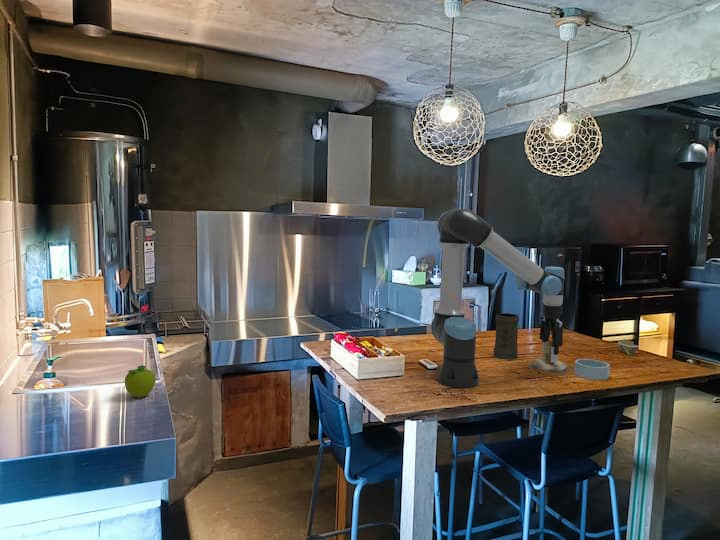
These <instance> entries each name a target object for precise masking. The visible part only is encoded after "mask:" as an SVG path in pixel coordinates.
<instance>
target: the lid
mask: <svg viewBox="0 0 720 540" xmlns="http://www.w3.org/2000/svg"><path fill="white" fill-rule="evenodd" d="M551 345H553V342H552V340H550V341H546V351H545V358H537V359H533V360H532V362H531V364H532V366H533V367H534V368H536V369H539V370H538V371H542V370H544V371H543V372H547V371H550V372H549V373H553V372H562V371H566V370H567V366H568V364H567V363H565V362H563V361H561V360H558V362H551ZM536 369H535V370H536ZM567 371H568V370H567ZM567 371H566V372H567Z"/></svg>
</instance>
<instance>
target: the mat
mask: <svg viewBox="0 0 720 540" xmlns="http://www.w3.org/2000/svg"><path fill="white" fill-rule="evenodd" d="M571 367H572V365H571V366H570V365H567V370H566V371H562V372H552V373H554V374H559V375H564V374H565V373H566V372H567V371H568V370H569V369H570V368H571ZM526 368H527V369H531V370H538V371H540V370H539V369H536V368H534V367H533V366H532V363H531V364H530V365H528V366H527V367H526ZM541 371H543V372H545V371H544V370H541ZM546 372H548V373H551V372H550V371H546Z"/></svg>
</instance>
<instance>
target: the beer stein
mask: <svg viewBox="0 0 720 540" xmlns="http://www.w3.org/2000/svg"><path fill="white" fill-rule="evenodd" d="M519 321H520V317H519V315H518V314H515V313H504V312H503V313H501V312H500V313H496V314H495V326H496V327H495V341H494V348H493V355H492V356H493V358H496V359H500V360H501V359H502V360H509V361H510V360H517V359H518V358H519V355H518V353H519V351H518V331H519V330H518V329H519V328H518V327H519Z"/></svg>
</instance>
